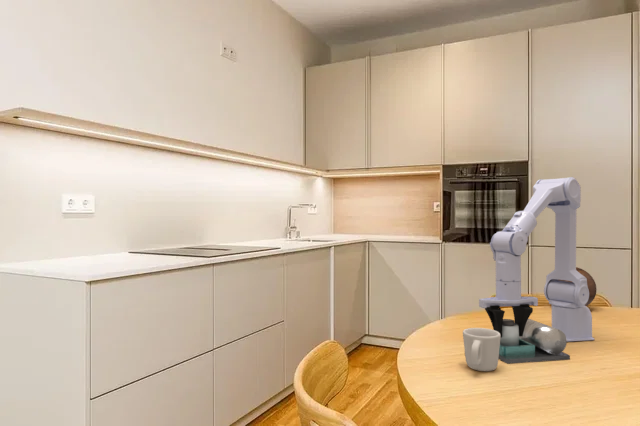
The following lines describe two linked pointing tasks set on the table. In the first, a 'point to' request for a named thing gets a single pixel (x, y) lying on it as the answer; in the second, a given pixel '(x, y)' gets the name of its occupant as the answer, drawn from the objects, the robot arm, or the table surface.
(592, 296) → the wooden sphere
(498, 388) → the table surface
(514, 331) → the grey capped cylinder
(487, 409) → the table surface
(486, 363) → the cup
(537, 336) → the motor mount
